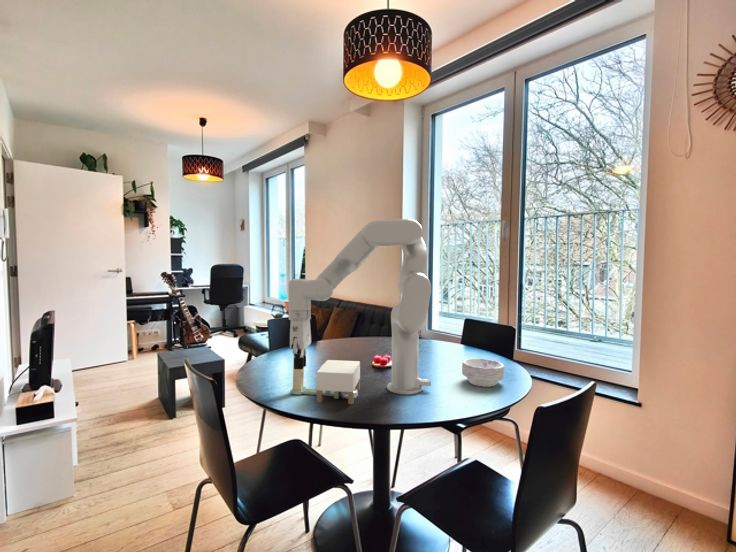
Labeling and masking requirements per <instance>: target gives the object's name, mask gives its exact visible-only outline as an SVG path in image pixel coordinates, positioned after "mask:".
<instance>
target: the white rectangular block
mask: <svg viewBox="0 0 736 552" xmlns="http://www.w3.org/2000/svg"><path fill="white" fill-rule="evenodd" d="M355 388H356V389H357V390H358V391H360V389H361V361H359V360H342V359H341V360H339V359H338V360H337V359H327V360H326V361H325V362H324V363H323V364H322V365H321V366H320V368H318V369H317V371H316V389H317V395H316V403H320V402H321V403H322V402H323V395H322V390H323V391H342V392H348V399H347V400H348V401H347V403H348V405H353V404H354V402H355V401H354V400H355V398H354V389H355Z"/></svg>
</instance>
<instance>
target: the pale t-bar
mask: <svg viewBox="0 0 736 552" xmlns="http://www.w3.org/2000/svg"><path fill="white" fill-rule="evenodd" d="M299 352H300V351H299ZM302 357H303V369H294V358H293V359H292V360H293V366H292V367H293V369H292V370H293V371H292V388H291V389H290V391H289V395H290V394H291V395H301V396H302V394H303V395H314V396H315V395H316V396H317V388H316V389H315V388H306V386H304V375H305V373H304V371H305V367H304V350H302ZM322 396H328V397H333V399H334V400H335V399H337V400H338V399H339V398H341V397H340V391H323V390H322Z"/></svg>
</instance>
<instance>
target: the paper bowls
mask: <svg viewBox="0 0 736 552" xmlns="http://www.w3.org/2000/svg"><path fill="white" fill-rule="evenodd" d="M461 363H462V365H461V374H462V375H463V376H464V377H466V379H467V380H468V383H469V384H470V385H471V384H472V385H474V386H477V387H481V386H482V387H481V388H483V387H484V388H490V387H491V386H492V387H495V386H496V385H497V384H498V383H499V381H502V380H504V378H505V377H504V376H505V364H504V363H502V362H500V361H498V360H492V359H489V358H478V357H477V358H476V357H475V358H473V357H472V358H466V359H464V360H462V362H461Z"/></svg>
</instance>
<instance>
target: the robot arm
mask: <svg viewBox="0 0 736 552" xmlns="http://www.w3.org/2000/svg"><path fill="white" fill-rule="evenodd" d="M423 233H424V232H423V227H422V225H421V224H420V222H418V221H417V220H415V219H413V218H412V219H411V218H405V219H404V218H402V219H390V220H389V219H387V220H385V219H384V220H372V221H369V222H368V223H366V225H364V226H363V227H362V228H361V230H359V231H358V232H357V233H356V235H355V236H353V238H352V239H351V240H350V241H349V242H348V243H347V244H346V245H345V246H344V247H343V248H342V249H341V250H340V252H338V254H337V255H336V256H335V258H334V259H333V260H332V261H331V262H330V264H328V266H327V267H326V268H325V269H324V270H323V271H322V272H321V273H320V274H319V275H318V276H317V277H316V278H315V279H312V280H311V279H308V278H294V279H291V280H289V281H288V284H287V285H288V286H287V287H288V289H287V290H288V320H289V321H290V325H289V326H290V328H289V348H290V349H291V350H292V353H291V354H292V355H293V359H294V369H303V357H302V350H304V368H306V367H307V348H308V347H309V346H310V345H311V343H312V333H311V332H312V331H311V320H312V316H311V315H312V313H311V311H312V309H311V308H312V307H311V305H312V301H318V302H320V301H321V302H324V301H327V300H329V299H330V298H331V297H332V295H333V293H334V290H335V289H336V288H337V287H338V286H339V285H340V284H341V282H343V281H344V279H346V278H347V277H348V276H350V275H351V274H352V273H354V272H355V271H357V270H358V269H359V268H360V267H362V265H364V263H365V262H366V261H367V260H368V259H369V258H370V256H372V255H373V254H374V253H375V251H376V250H377V249H378V248H379V247H391V246H400V248H401V249H402V264H401V269H400V275H399V279H398V284H397V285H398V286H397V287H398V291H399V293H400V294H401V301H399V302H397V303H396V304H395V305H393V307H392V310H391V312H390V324H391V382H390V381H389V383H388V384H387V385H386V386H387V387H386V388H387V390H388V391H389V392H391V393H393V394H398V395H406V396H407V395H415V394H419V393H421V392H422V391H423V387H424V386H425V387H431V386H432V380H428V378H421V377H420V374H419V344H420V340H419V338H420V337H419V331H420V330H421V329H423V327H424V326H425V324H426V320H427V317H428V312H429V307H430V300H431V297H432V296H431V294H432V284H431V280H430V279H429V278H428V276H427V275H426V270H427V262H428V249H427V246H426V243H425V241H424V238H423V237H422V236H423ZM299 351H300V352H299Z"/></svg>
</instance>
